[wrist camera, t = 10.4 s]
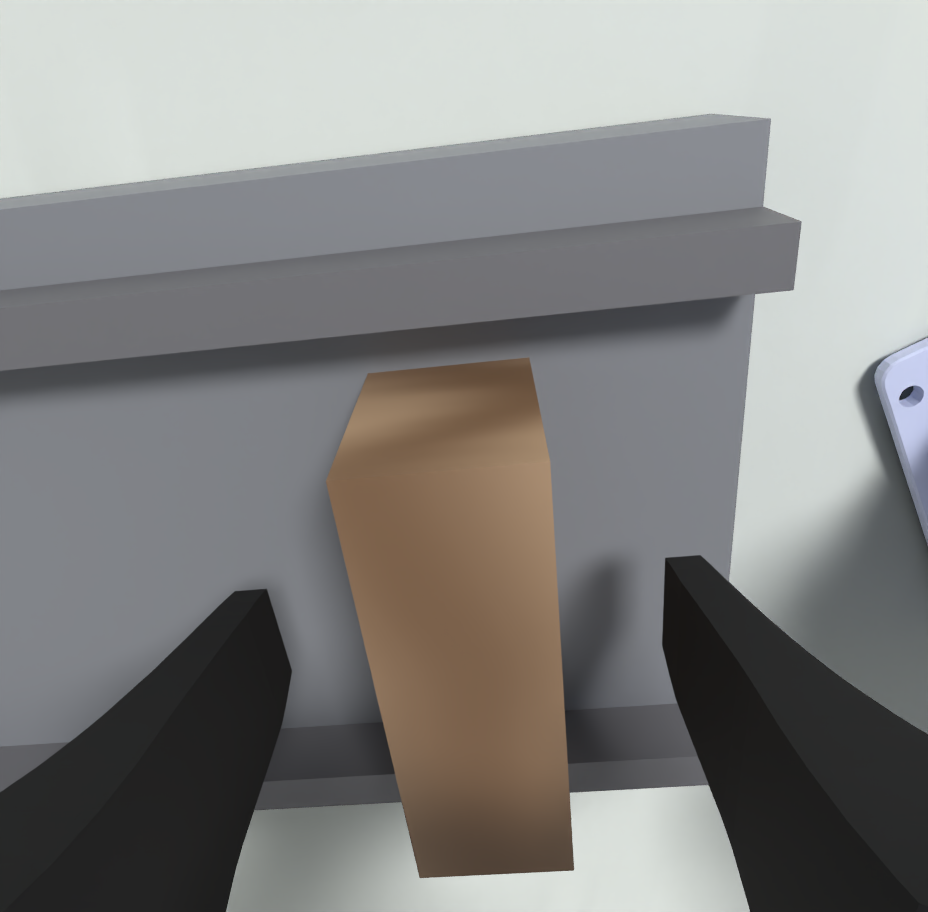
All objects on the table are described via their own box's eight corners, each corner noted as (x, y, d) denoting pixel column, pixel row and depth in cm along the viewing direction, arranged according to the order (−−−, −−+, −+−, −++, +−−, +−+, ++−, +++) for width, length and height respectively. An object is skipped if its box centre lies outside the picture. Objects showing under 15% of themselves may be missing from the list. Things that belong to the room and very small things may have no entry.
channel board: (712, 114, 13) (813, 121, 9) (681, 676, 20) (731, 818, 16) (-242, 227, 15) (-513, 277, 11) (38, 718, 21) (-61, 860, 18)
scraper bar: (529, 357, 12) (550, 460, 9) (553, 705, 17) (574, 870, 13) (367, 373, 13) (325, 481, 9) (432, 713, 17) (419, 877, 13)
